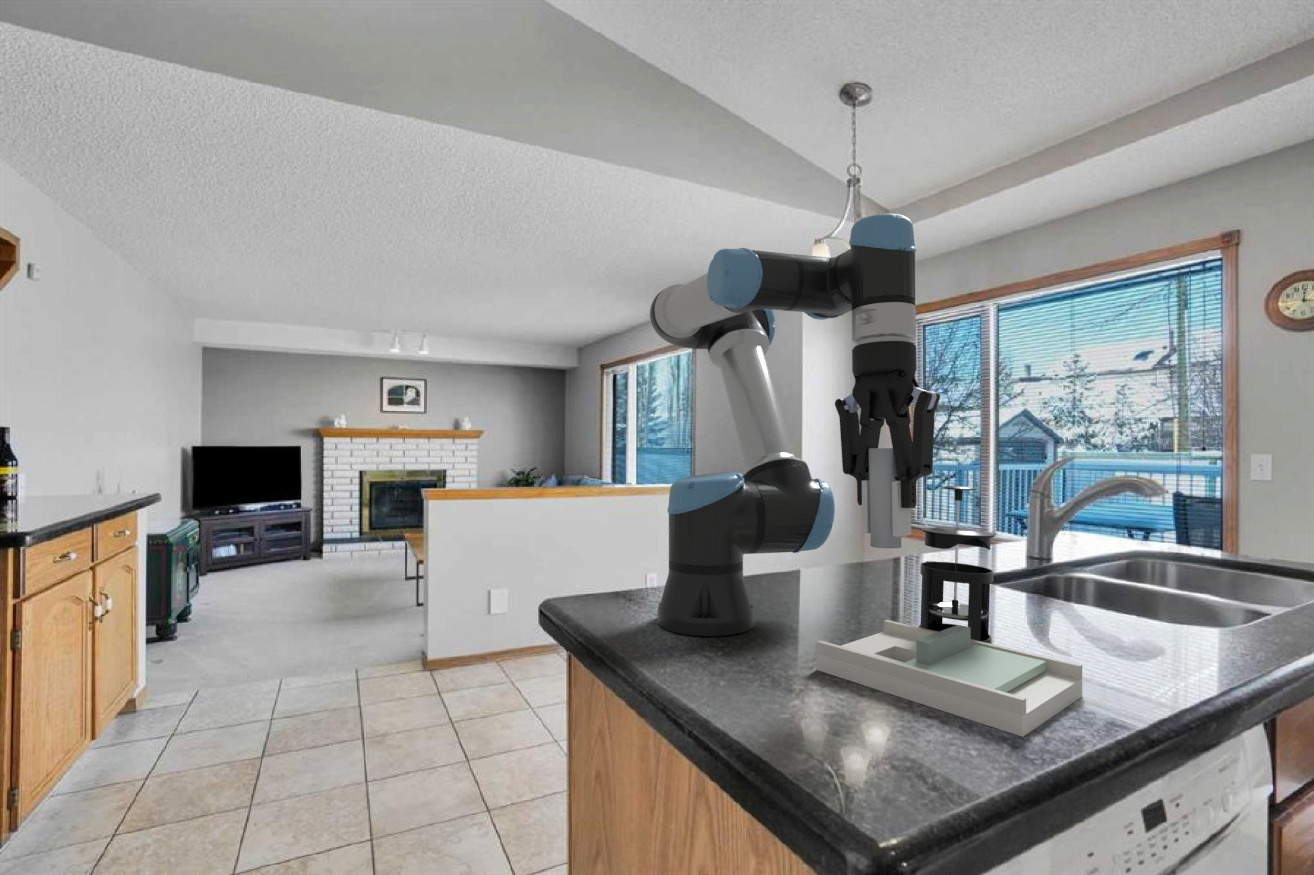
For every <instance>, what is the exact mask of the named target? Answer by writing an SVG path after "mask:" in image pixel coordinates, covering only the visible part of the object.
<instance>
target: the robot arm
mask: <svg viewBox="0 0 1314 875" xmlns="http://www.w3.org/2000/svg"><path fill="white" fill-rule="evenodd" d="M914 233H915V232H914V224H913V222H912V221H911V219H910V218H908V217H906V216H905V215H902V214H896V213H878V214H874V215H869V216H866V217H863V218H860V219H858V220H857V221H856V222H855V223H854V224H853V225H852V227H851V230H850V237H849V241H848V245H849V246H850V248H849V249H847V250H846V251H844V252H842V253H840V254H838V255H837V256H834V257H828V256H827V257H826V256H818V255H817V256H816V255H806V254H795V253H793V254H792V253H783V252H774V251H773V252H772V251H765V250H754V249H749V248H746V247H740V248H739V247H738V248H722V249H719V250H718V251H717V252H715V253H714V255H713V257H712V258H713V259H712V260H711V261H710V263H709V267H708V271H707V272H706V273H705V274H703V275H701V276H699V277H697V278H695V279H693V280H691V281H690V282H688V283H686V284H682V283H680V284H679V283H678V284H672V285H669V286H667V287H665V288H663V289H662V290H661V291H660V292H658V294H656V296H655V297H654V298H653V300H652V301H651V305H650V309H649V319H650V323H651V327H652V328H653V330H654V331H655V333H656V334H657V336H659V337H660V338H661V339H663V340H664V341H665V342H667V343H669V344H671V345H672V346H673V345H674V346H676V347H679V348H684V349H694V350H695V349H697V350H707V352H708V355H709V359H710V361H711V363H712V365H714V366H715V367H717V368H718V369H720V370H721V371H720V372H721V376H722V378H723V379H722V380H723V383H724V386H725V391H726V395H727V399H728V402H729V406H730V411H731V415H732V419H733V422H734V427H735V430H736V434H737V438H738V442H739V445H740V450H741V455H742V458H743V463H744V466H745V469H746V470H745V471H744V473H741V472H739V471H723V472H711V473H704V474H698V475H697V474H696V475H692V476H691V475H690V476H687V477H681V478H680V479H677V480H675V481H674V482H673V483H672V484H671V486H670V489H669V497H668V507H667V513H668V574H667V578H666V581H665V584H664V588H663V591H662V597H661V600H660V603H658V606H657V611H656V613H657V616H656V617H657V618H656V620H657V625H658V626H660V627H661V628H662V629H663V630H666V631H669V632H672V633H677V634H681V635H686V636H687V635H689V636H696V637H697V636H698V637H699V636H701V637H719V636H720V637H722V636H730V635H731V636H732V635H736V634H741V633H745V632H748V631H750V630H752V629H753V628H754V626H755V608H754V606H753V604H752V603H751V599H750V595H749V590H748V587H747V584H746V580H745V577H744V555H748V554H750V555H753V554H777V553H778V554H779V553H794V554H796V553H797V554H798V553H800V552H807V551H813V550H817V549H819V548H821V547H822V546H823V545H824V544H825V543H826V542H827V540H828V538H829V537H830V535H831V533H832V529H833V525H834V521H835V508H836V507H835V498H834V493H833V491H832V489H831V486H830V485H829V483H827V482H825V480H822V479H820V478H814V479H813V478H812V474H811V472H810V468H809V466H808V463H807V462H806V461H805V460H803V459H801V458H799V457H796V454H795V451H794V447H793V444H792V441H791V438H790V435H789V432H788V428H787V425H786V421H785V417H784V415H783V411H782V408H781V405H780V401H779V398H778V395H777V391H776V388H775V385H774V382H773V378H772V374H771V371H770V368H769V365H768V361H767V358H766V356H765V355H767V354H768V351H769V348H770V346H771V345H772V342H773V340H774V336H775V334H776V333H775V332H776V326H775V324H774V323H775V322H776V318H775V314H774V311H782V312H783V311H785V312H798V313H799V312H800V313H804V314H806V315H807V316H809V317H810V318H812V319H815V320H817V321H818V320H819V321H820V320H821V321H822V320H828V319H836V318H839V317H840V316H843V315H845V314H847V313H849V312H850V311H851V341H852V342H853V343H854V344H855V346H854V347H853V348H852V350H851V360H852V362H851V366H852V367H851V370H852V372H851V373H852V375H853V376H854V386H853V388H852V390H851V391H852V392H851V394H849V395H848V396H846V397H845V398H837V399H836V400H835V402H834V406H835V410H836V411H837V414H838V417H839V418H838V419H839V433H840V447H841V448H840V449H841V464H842V472H843V474H845V475H849V476H851V477H854V478H855V480H856V496H857V499H856V500H857V503H858V506H861V519H862V520H861V525H862V526H861V527H862V529H861V530H862V534H870V495H869V448H879V445H880V444H879V443H880V437H881V432H882V431H881V430H882V428H883V427H884V425H885V424H886V425H887V426H888V429H889V434H890V440H891V441H890V442H891V446H892V447H891V448H893V452H894V458H895V464H896V469H897V475H898V476H896V477H894V478H895V480H897V481H892V525H893V536H897V537H899V536H901V537H905V536H906V537H907V536H912V509H915V508H916V507H917V482H918V480H919V479H921V478H924V477H925V476H930V475H932V473H933V465H934V464H933V463H934V438H935V415H936V414H935V413H936V410H937V407H938V405H939V402H940V400H941V394H940V393H938V391H928V390H925V389H923V388H920V386H919V384H918V381H917V380H916V372H917V369H918V368H917V365H918V364H917V345H916V344H915V343H913V342H912V341H914V340H915V339H916V338H917V314H916V313H917V311H916V252H917V248H916V245H915V234H914ZM912 403H913V405H914V410H913V417H912V418H913V421H911V416H910V409H909V408H910V406H911V405H912ZM859 410H860V415H859V413H858V411H859ZM911 422H912V434H911V428H910V426H911V425H910V424H911Z"/></svg>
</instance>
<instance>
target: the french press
mask: <svg viewBox="0 0 1314 875" xmlns="http://www.w3.org/2000/svg"><path fill="white" fill-rule="evenodd" d="M941 489H943V490H951V491H952V490H954V501H956V515H955V516H956V517H955V523H956V524H955V526H944V525H943V526H935V527H934V526H933V527H931V526H930V527H922V528H921V532H923V533H924V546H927V547H930V548H936V549H941V550H947V549H948V550H949V549H952V548H953V547H954V548H955V550H954V552H955V553H954V562H950V561H948V562H947V561H934V560H931V561H930V560H929V561H928V560H927V561H925V562H921V563H920V575H921V590H920V591H921V595H920V597H921V600H920V621H919V622H920V623H919V626H918V627H920V628H924V629H929V630H933V631H937V632H940V631H942V630H945V629H948V628H951V627H953V626H956V625H957V624H954V623H947V622H945V623H943V619H948V620H956V621H965V622H967V627H970V639H972V640H977V641H981V642H985V643H990V644H992V636H991V635H990V634H989V626H990V624H989V622H990V614H991V613H990V593H991V592H990V591H991V588H990V587H991V586H990V585H991V584H992V583H993V582H994V570H992V569H991V568H988V567H984V566H980V565H974V564H969V563H968V564H967V563H960V562H959V545H964V546H972V547H978V548H983V549H986V550H988V551H991V543H992V542H991V541H992V540H991V539H992V538H995V535H996V534H995V533H992V532H987V531H982V530H980V529H979V530H978V529H975V528H970V527H961V526H960V508H961V506H960V503H961V502H962V501H963V492H964V491H977V489H976V488H973V487H971V486H966V485H965V486H964V485H945V486H942V487H941ZM960 501H961V502H960ZM945 582H949V583H953V584H954V585H953V599H952V600H951V602H950V601H949V602H948V601H944V586H945V584H944V583H945ZM958 584H968V604H965V603H959V600H958Z"/></svg>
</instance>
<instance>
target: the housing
mask: <svg viewBox="0 0 1314 875" xmlns="http://www.w3.org/2000/svg"><path fill="white" fill-rule="evenodd" d="M934 633H937V631H933V630H929V629H924V628H920V627H919V626H915V625H912V624H911V625H910V624H907V623H903V622H898V621H893V620H888V619H885V620H883V631H881V632H878V633H875V634H873V635H870V636H866V637H864V638H860V639H857V640H854V641H851V642H848V643H845V644H842V645H838V644H834V643H832V642H827V641H825V640H817V641H816V646H815V648H816V655H815V656H816V657H815V658H816V659H815V660H816V664H815V665H816V667H815V668H816V671H819V672H822V673H825V674H827V675H828V674H829V675H831V676H835V677H837V678H841V679H843V680H847V681H849V682H852V683H856V684H859V685H862V686H865V687H868V688H870V689H874V690H877V691H880V692H884V693H886V694H889V695H893V696H896V697H899V698H902V699H906V700H908V701H912V702H914V703H917V704H920V705H924V706H927V707H929V708H932V709H936V710H939V711H943V712H945V713H947V714H951V715H955V716H958V717H961V718H963V719H967V720H969V721H973V722H975V723H976V722H977V723H978V724H982V725H985V726H989V727H991V728H995V729H997V730H1001V731H1004V732H1007V733H1009V734H1012V735H1016V736H1019V737H1022V738H1024V737H1026V736H1027V735H1028V734H1030V733H1031V732H1032V731H1034V730H1035V729H1037V728H1039V727H1040V726H1042V724H1044V723H1045V722H1047V721H1049V720H1050V719H1051V718H1052V717H1054V716H1056V715H1057V714H1059V713H1061V711H1063V710H1065V709H1066V708H1068V707H1069V706H1070V705H1072V704H1073V703H1075V702H1076V701H1078V700H1079V699H1080V698H1082V697H1083V664H1080V663H1076V662H1071V661H1067V660H1063V659H1058V658H1056V657H1050V656H1045V655H1042V654H1036V653H1032V652H1029V651H1024V650H1020V649H1014V648H1011V647H1008V646H1007V647H1006V646H1002V645H997V644H993V643H991V644H990V643H985V642H981V641H977V640H972V639H970V643H971V644H975V645H979V646H983V647H987V648H992V649H996V650H1000V651H1004V652H1009V653H1013V654H1017V655H1021V656H1026V657H1030V658H1034V659H1038V660H1043V661H1046V671H1044V672H1042V673H1040V674H1038V675H1037V676H1035V677H1033V678H1031V679H1029V680H1028V681H1026V682H1024V683H1022V684H1021V685H1019V686H1017V687H1015V688H1013V689H1012V690H1010V691H1008V692H1002V691H999V690H995V689H992V688H988V687H985V686H981V685H978V684H974V683H970V682H967V681H963V680H960V679H956V678H953V677H949V676H946V675H942V674H938V673H935V672H931V671H928V670H924V669H921V668H917V667H913V666H910V665H906V664H903V663H905V662H907V661H910V660H912V659H915V658H916V640H918V639H920V638H923V637H926V636H929V635H931V634H934Z"/></svg>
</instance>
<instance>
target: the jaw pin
mask: <svg viewBox="0 0 1314 875" xmlns="http://www.w3.org/2000/svg"><path fill="white" fill-rule="evenodd" d="M896 476H898V475H897V469H896V464H895V458H894V452H893V447H885V448H884V447H882V448H881V447H880V448H879V447H878V448H869V495H870V533H869V538H870V543H869V544H870V545H869V546H870V547H872V548H876V549H900V548H902V547H903V546H902V544H903V543H902V536H899V537H897V536H893V525H892V481H897V480H895V478H894V477H896Z"/></svg>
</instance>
